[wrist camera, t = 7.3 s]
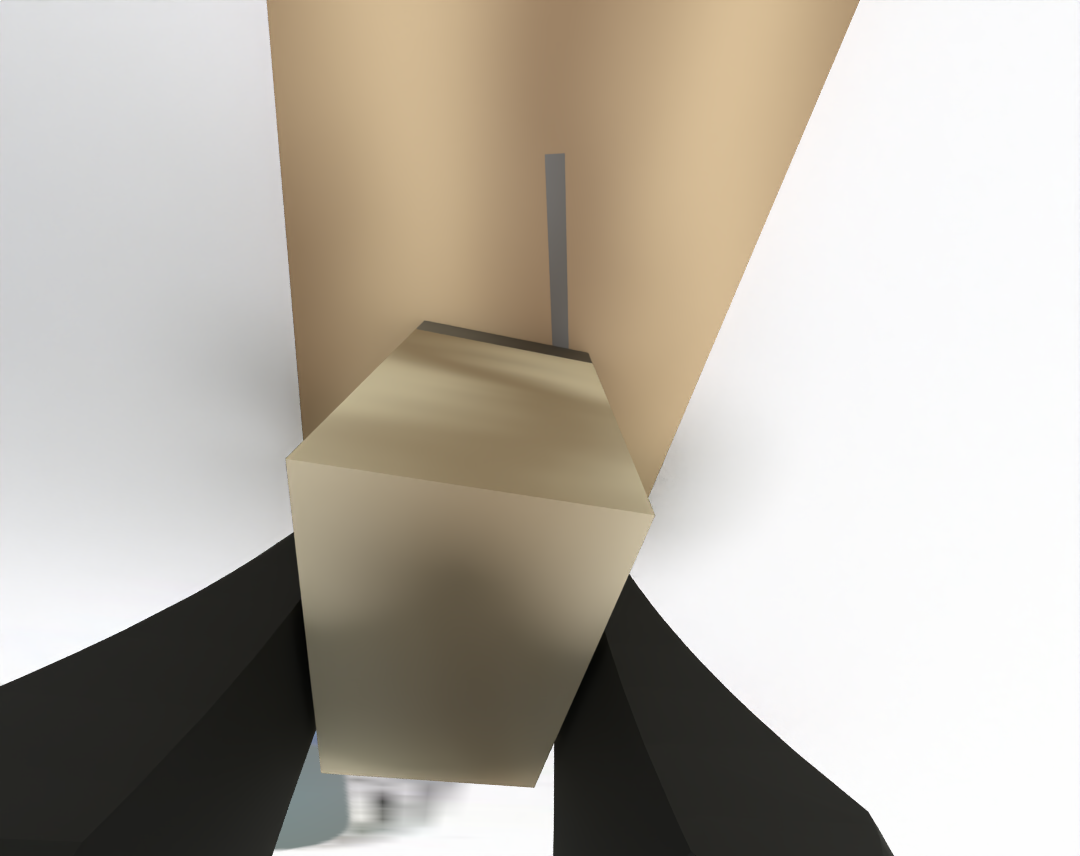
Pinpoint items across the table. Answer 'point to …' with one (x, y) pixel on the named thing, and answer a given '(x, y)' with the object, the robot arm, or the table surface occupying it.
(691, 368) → the board
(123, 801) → the robot arm
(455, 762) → the block
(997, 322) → the table surface
